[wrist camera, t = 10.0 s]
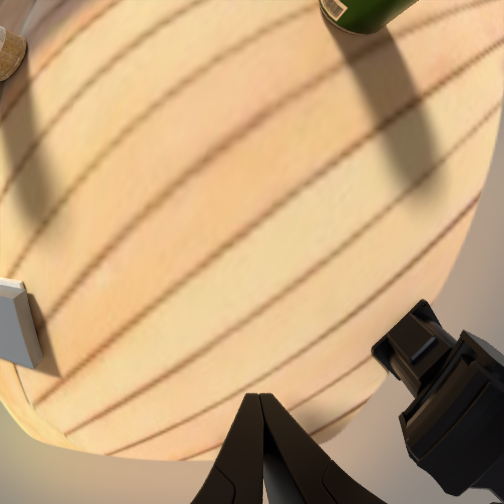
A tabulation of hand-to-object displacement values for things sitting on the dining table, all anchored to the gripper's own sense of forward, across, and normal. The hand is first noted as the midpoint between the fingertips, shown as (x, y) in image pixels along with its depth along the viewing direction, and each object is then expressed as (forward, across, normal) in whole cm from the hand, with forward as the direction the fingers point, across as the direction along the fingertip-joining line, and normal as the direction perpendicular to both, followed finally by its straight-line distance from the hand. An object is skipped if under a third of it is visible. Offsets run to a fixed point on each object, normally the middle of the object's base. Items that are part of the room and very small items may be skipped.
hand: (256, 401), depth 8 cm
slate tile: (+10, +18, +6) cm, 22 cm away
